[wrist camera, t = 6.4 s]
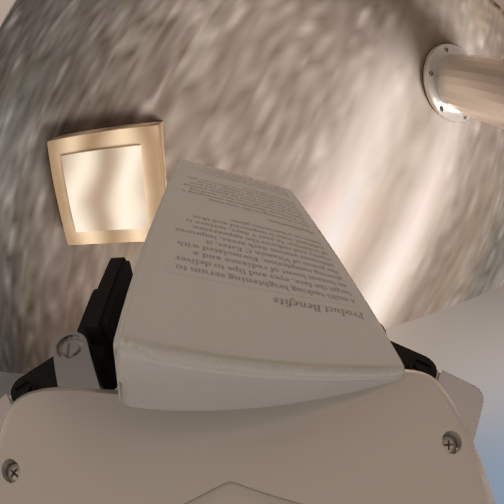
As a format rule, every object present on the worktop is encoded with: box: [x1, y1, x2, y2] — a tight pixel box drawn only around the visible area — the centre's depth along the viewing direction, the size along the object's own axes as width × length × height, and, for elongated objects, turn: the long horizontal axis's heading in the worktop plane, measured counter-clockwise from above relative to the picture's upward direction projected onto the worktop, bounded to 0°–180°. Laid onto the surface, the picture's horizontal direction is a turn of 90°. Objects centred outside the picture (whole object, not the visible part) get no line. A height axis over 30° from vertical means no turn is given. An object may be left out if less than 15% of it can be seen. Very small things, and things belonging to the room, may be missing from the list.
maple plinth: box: [47, 121, 167, 245], centre depth 32 cm, size 14×14×4 cm
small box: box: [113, 160, 405, 411], centre depth 10 cm, size 8×6×10 cm
